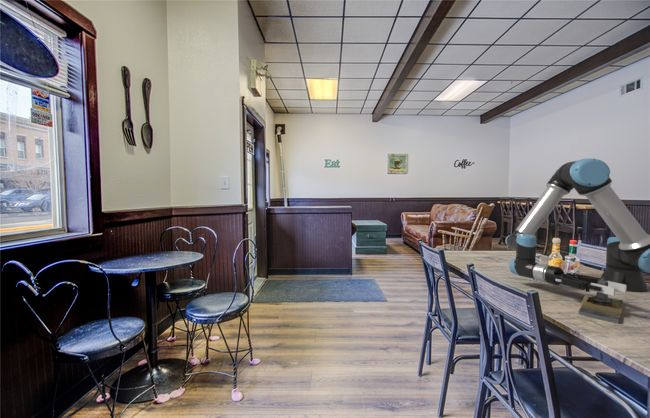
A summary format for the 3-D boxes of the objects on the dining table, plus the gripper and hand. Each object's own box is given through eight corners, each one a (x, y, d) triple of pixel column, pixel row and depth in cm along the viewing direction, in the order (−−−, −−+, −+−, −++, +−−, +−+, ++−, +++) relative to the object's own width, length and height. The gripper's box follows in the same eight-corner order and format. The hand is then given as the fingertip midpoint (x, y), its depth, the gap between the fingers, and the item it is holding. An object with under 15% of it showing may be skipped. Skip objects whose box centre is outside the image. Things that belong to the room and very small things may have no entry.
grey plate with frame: (587, 296, 120) (587, 290, 120) (623, 303, 112) (623, 297, 112) (577, 314, 102) (578, 307, 102) (619, 323, 95) (619, 316, 95)
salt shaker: (614, 313, 103) (616, 280, 103) (593, 309, 106) (594, 277, 106) (609, 307, 108) (611, 276, 108) (589, 304, 111) (590, 274, 111)
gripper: (562, 279, 128) (633, 296, 107) (533, 285, 119) (604, 305, 99) (563, 263, 127) (634, 276, 106) (534, 267, 119) (605, 283, 98)
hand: (620, 290), depth 103 cm, fingers open, 8 cm apart
